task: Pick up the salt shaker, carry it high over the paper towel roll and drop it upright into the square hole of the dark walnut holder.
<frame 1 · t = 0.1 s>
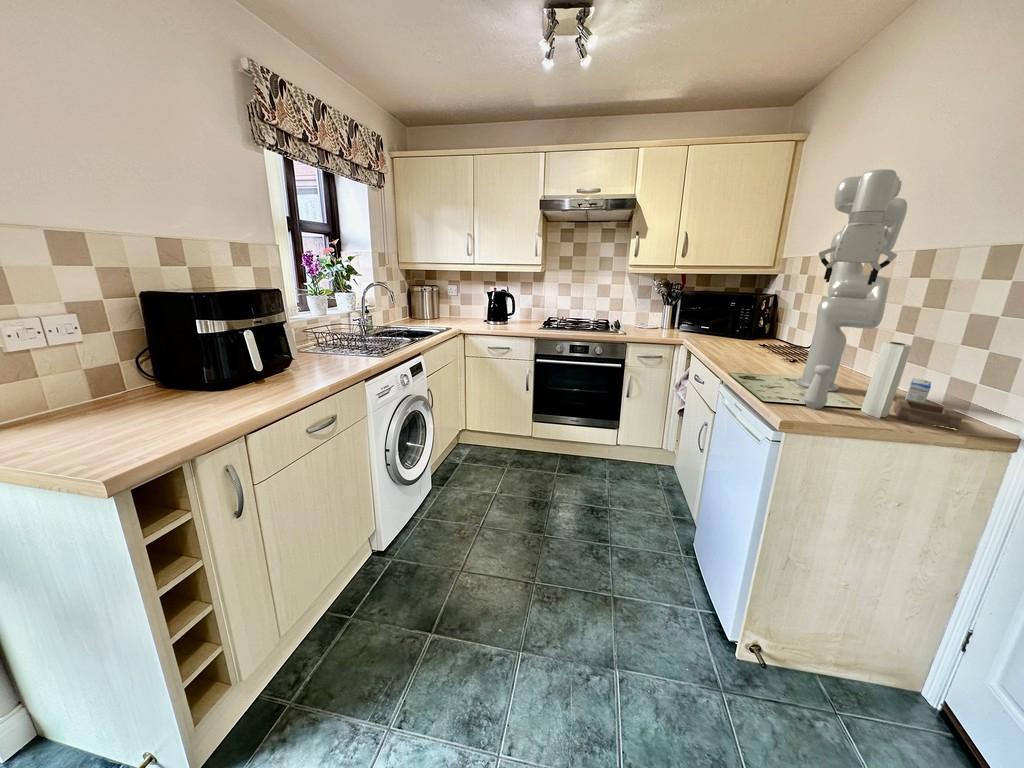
hand: (847, 283, 118), 37 cm above the worktop, tool pointing down, fingers open, 9 cm apart
salt shaker: (812, 407, 124), on the worktop
holder: (923, 418, 118), on the worktop
medicine box: (911, 408, 128), on the worktop
paper towel roll: (872, 414, 120), on the worktop
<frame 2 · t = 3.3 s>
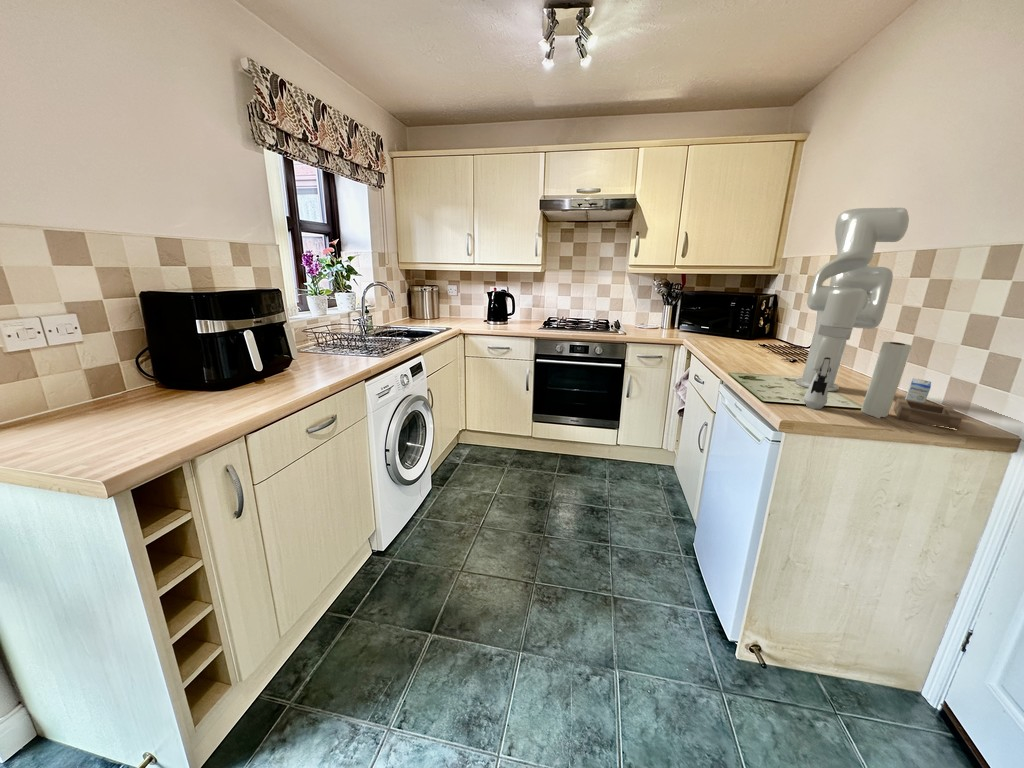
hand: (817, 392, 122), 5 cm above the worktop, tool pointing down, fingers closed on salt shaker, 3 cm apart
salt shaker: (812, 407, 124), on the worktop, touching gripper
everything else where it was.
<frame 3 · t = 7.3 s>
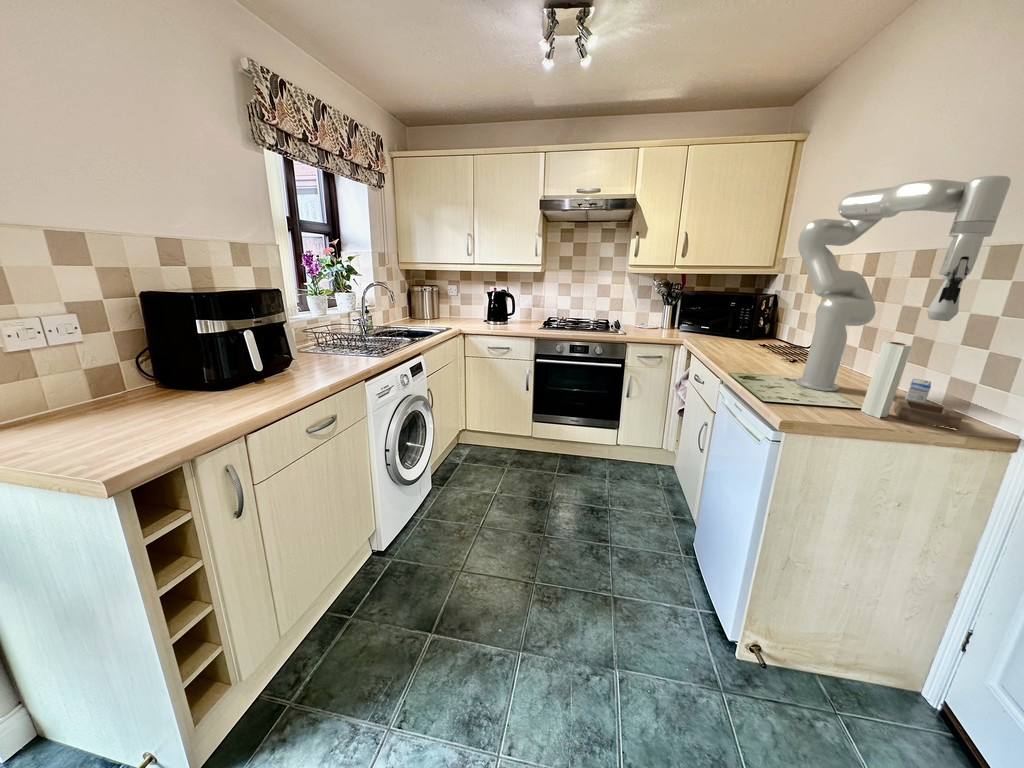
hand: (945, 302, 109), 33 cm above the worktop, tool pointing down, fingers closed on salt shaker, 3 cm apart
salt shaker: (939, 320, 111), point 28 cm above the worktop, touching gripper
everything else where it was.
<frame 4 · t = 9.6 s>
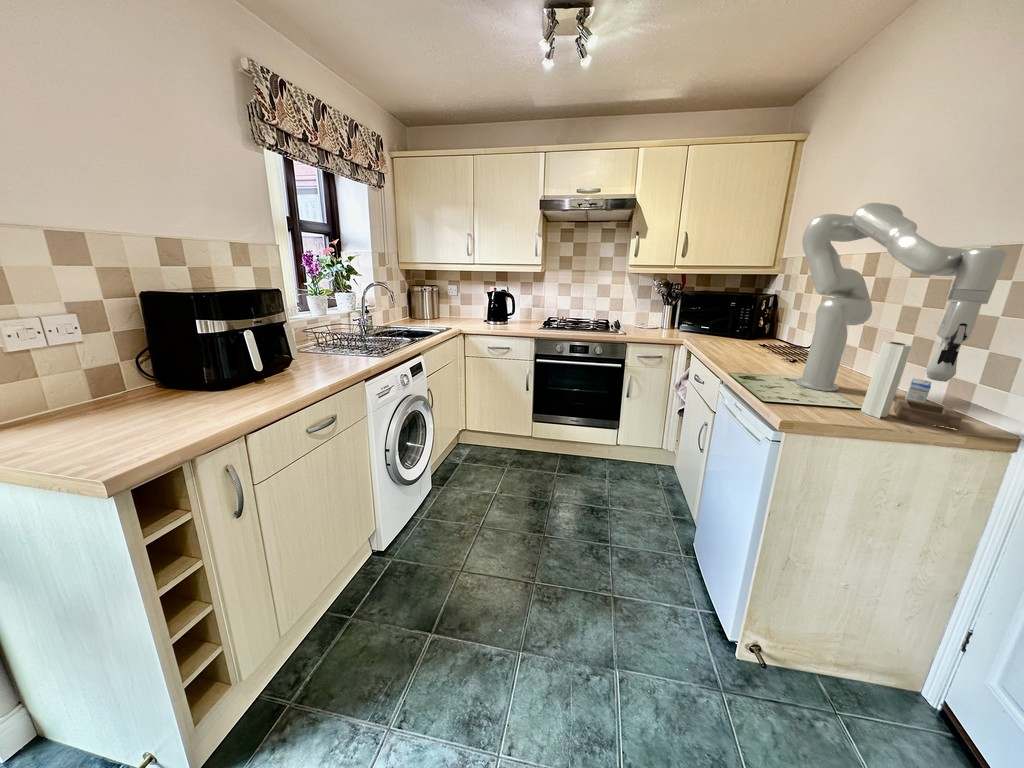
hand: (943, 363, 113), 17 cm above the worktop, tool pointing down, fingers closed on salt shaker, 3 cm apart
salt shaker: (937, 380, 115), point 12 cm above the worktop, touching gripper
everything else where it was.
when the fingers open (6 cm above the worktop, at t = 11.7 s): salt shaker stays where it is, resting on holder.
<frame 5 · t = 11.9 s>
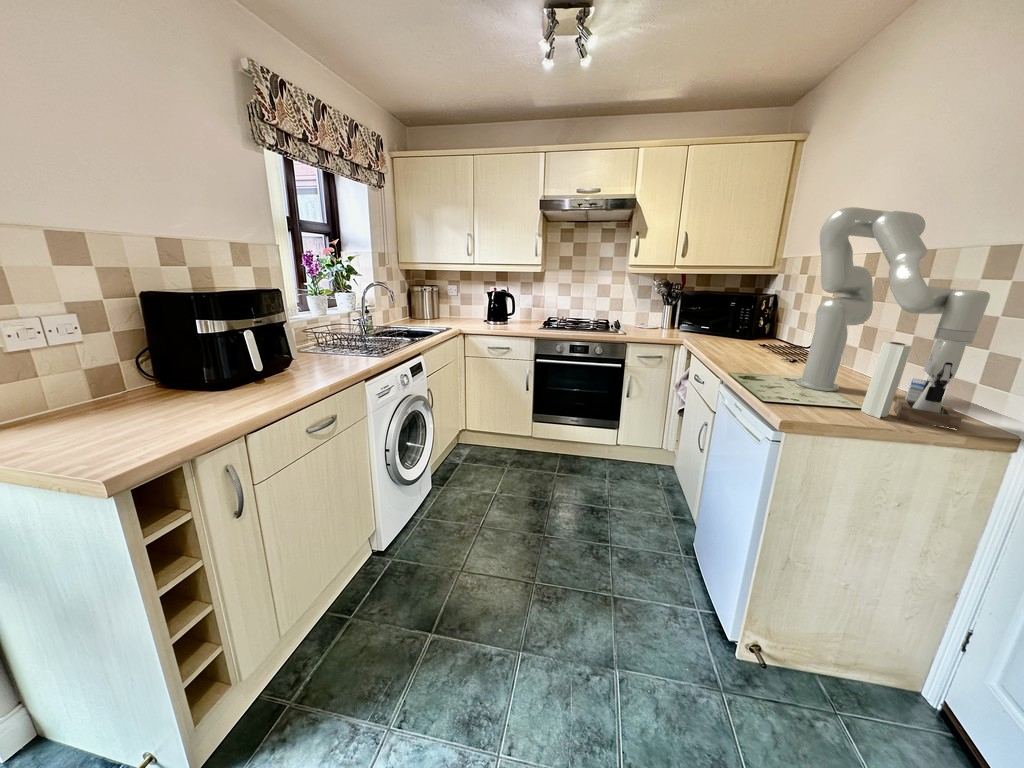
hand: (930, 398, 116), 6 cm above the worktop, tool pointing down, fingers open, 4 cm apart
salt shaker: (922, 418, 118), resting on holder
everything else where it was.
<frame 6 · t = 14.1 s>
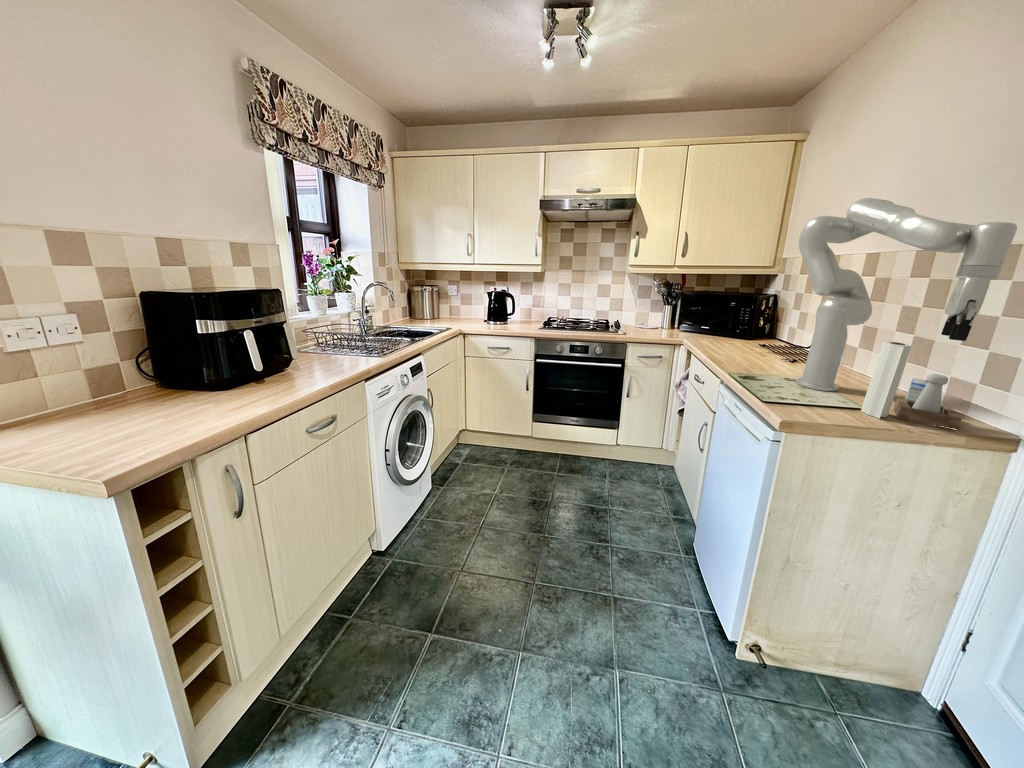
hand: (952, 337, 111), 24 cm above the worktop, tool pointing down, fingers open, 9 cm apart
nothing on the worktop moved.
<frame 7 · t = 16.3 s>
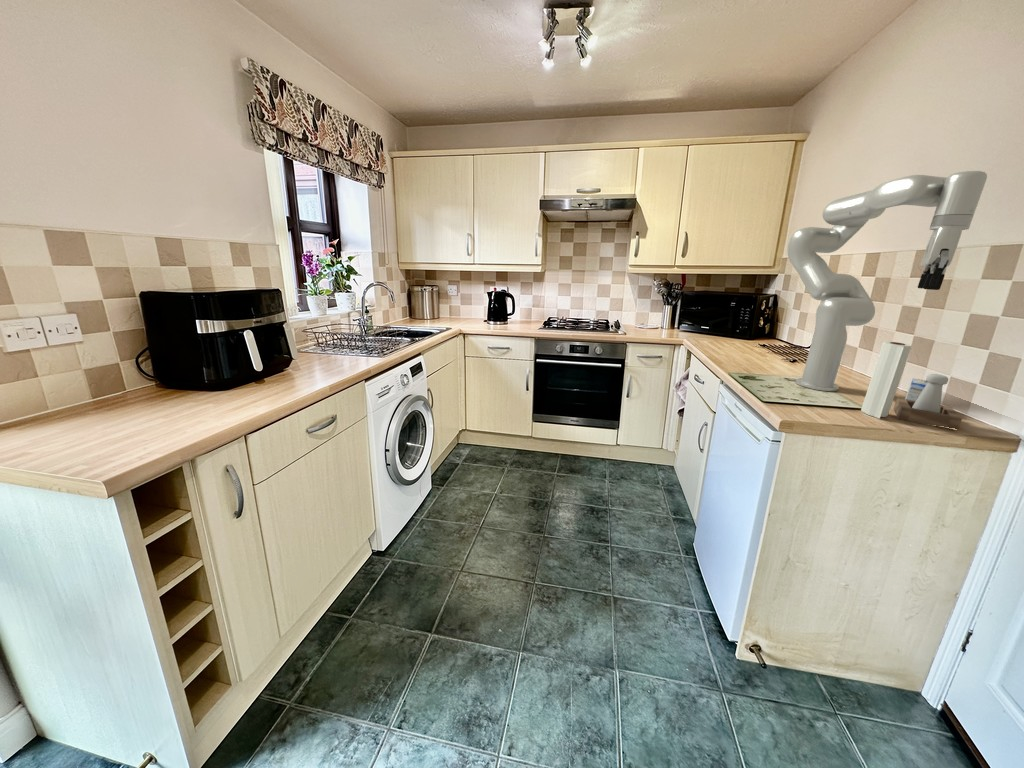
hand: (927, 289, 114), 36 cm above the worktop, tool pointing down, fingers open, 9 cm apart
nothing on the worktop moved.
at the end: salt shaker 0.1 cm off-centre on the holder, point 0.1 cm above the holder's base; salt shaker tilted 0°; the gripper is holding nothing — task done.
